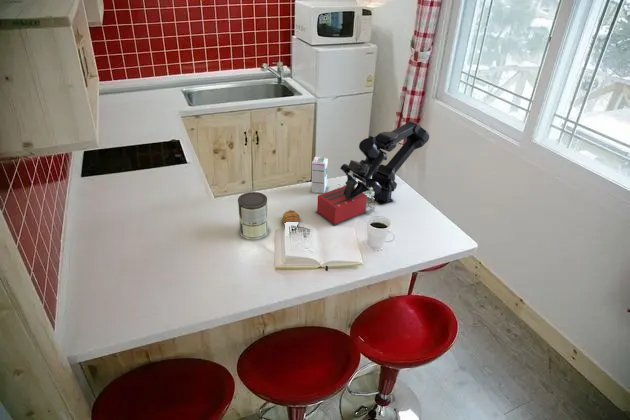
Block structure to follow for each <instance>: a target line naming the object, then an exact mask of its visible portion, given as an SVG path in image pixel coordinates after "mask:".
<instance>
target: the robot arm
mask: <svg viewBox="0 0 630 420" xmlns="http://www.w3.org/2000/svg"><path fill="white" fill-rule="evenodd" d="M404 139H406V140H405V142H404V143H403V145H401V147H400V148H399V149H398V151H397V152H396V153H395V154H394V155H393V157H392V158H391V159H390V160H389V161H388V162H387V164H383V161H387V160H388V153H390V152H392V151H393V150H394V149H396V148H397V144H398V143H400V142H401V141H402V140H403V141H404ZM429 139H430V134H429V131H427V130H426V129H424V128H423V127H421V125H420V124H419V123H417V122H415V121H411V120H407V121H406V122H405V123H404V124H402V125H401V126H399V127H397V128H395V129H393V130H392V131H382V132H379V133H378V134H377V135H375V136H372V135H369V136H368V137H366V138H364V139H362V140H361V141H360V142H359V144H358V148H359V150H360V152H361V153H362V154H363V155H364V156H365V159H361V160H360V161H356V160H353V159H350V161H349V163H348V164H347V163H343V164H342V165H341V166H340V168H339V169H340V170H341V171H342V172H343V173H344V174H345V175H346V178H347V179H346V181H349V180H352V181H353V182H355V187H354V188H355V189H354V191H353V192H352V193H351V195H350V197H349V198H351V199H352V198H353V197H355V196H357V195H359V194H361V193H366V192H368V191H369V192H370V191H371V188H372V191H373V192H374V194H373V196H372V197H374V198H375V200H374V201H375V202H377V203H378V204H379V205H381V206H382V205H385V204H386V205H387V204H390V203H393V202H394V200H393V198H392V192H395V190H396V189H397V186H398V183H397V182H396V181H395V180H396V173H397V172H398V171H399V170H400V168H401V167H402V166H403V165H404V164H405V162H406V161H407V160H408V159H409V157H410V156H411V155H412V154H413V153H414V152H415V151H416V150H417V149H421V148H423V147H424V145H425V144H426V143H428V142H429ZM385 151H386V152H385ZM387 152H388V153H387ZM344 194H346V187H345V191H344Z"/></svg>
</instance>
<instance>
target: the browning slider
mask: <svg viewBox="0 0 630 420" xmlns="http://www.w3.org/2000/svg"><path fill="white" fill-rule="evenodd" d="M345 186H346V194H345V198H347V199H348V200H351V198H349V197H350V195H351V193H352V192H353V191H354V188H355V187H356V185H355V182H353V181H352V180H349V181H347V180H346V181H345ZM352 199H353V198H352Z"/></svg>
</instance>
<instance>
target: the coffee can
mask: <svg viewBox="0 0 630 420" xmlns="http://www.w3.org/2000/svg"><path fill="white" fill-rule="evenodd" d="M237 205H238V216H239V217H238V218H239V230H240V231H239V232H240V235H241V237H243V238H244V239H246V240H252V241H254V240H256V241H257V240H260V239H262V238H265V237H266V236H267V235H268V234H269V230H268V229H269V225H268V224H269V223H268V197H267V195H266V194H264V193H263V192H262V193H261V192H257V191H250V192H248V191H247V192H244V193H243V194H240V195H239V196H238V197H237Z"/></svg>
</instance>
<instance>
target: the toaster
mask: <svg viewBox="0 0 630 420" xmlns="http://www.w3.org/2000/svg"><path fill="white" fill-rule="evenodd" d="M345 187H346V185H343V186H341V187H338V188H335V189H332V190H330V191H329V190H328V191H327V192H326V191H325V193H319V194H318V195H317V203H316V204H317V205H316V213H317V215H319V216H320V217H322V218H323V219H324V220H326V221H327V222H328V223H329V224H331V225H332V226H334V227H335V226H338V225H340V224H343V223H345V222H347V221H351V220H353V219H355V218H358V217H360V216H363V215H365V214H367V211H365V210H367V201H368V195H367V194H365V192H363V193H361V194H359V195H357V196H355V197H353V199H351V200H348V199H347V198H345V194H344V191H345ZM355 188H356V187H354V189H355Z"/></svg>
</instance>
